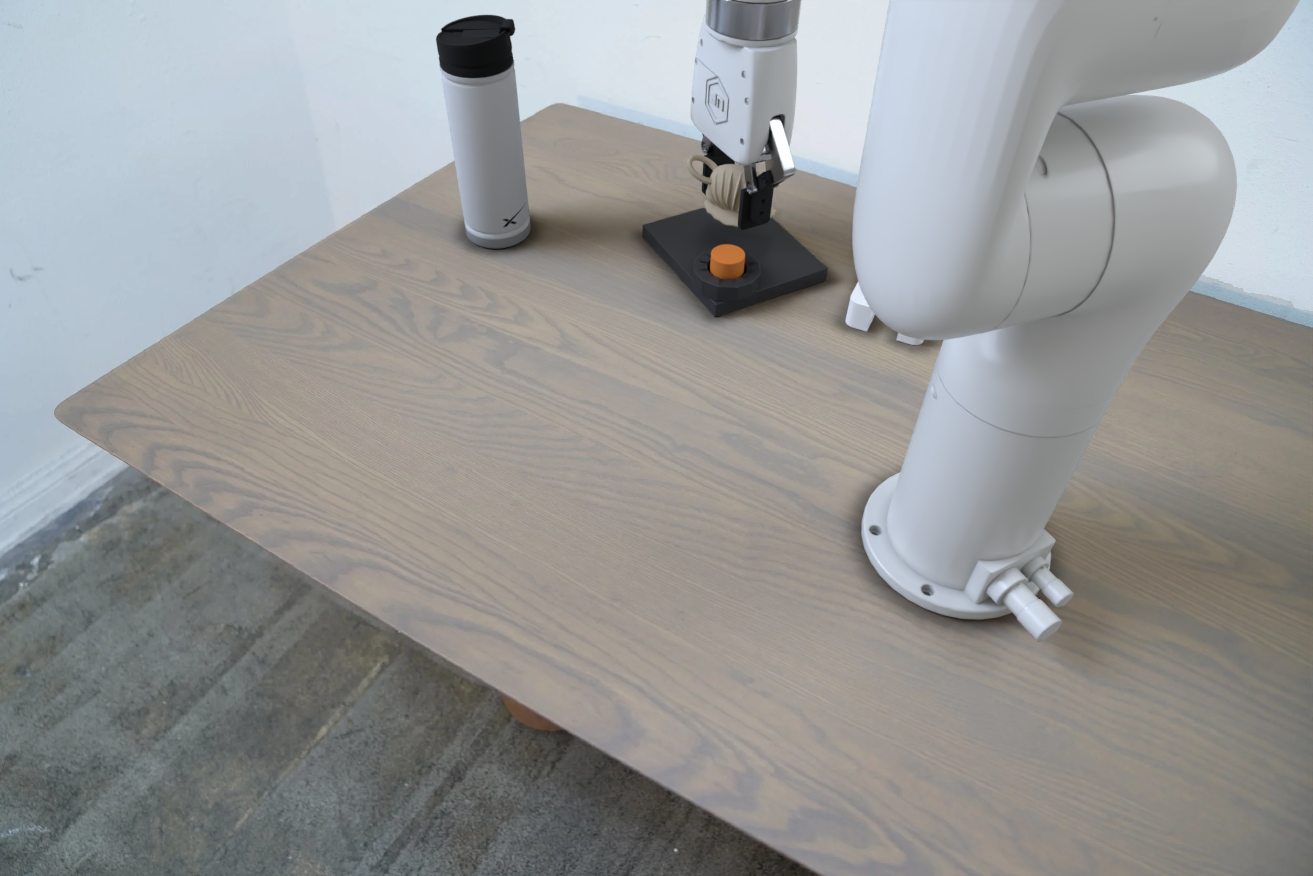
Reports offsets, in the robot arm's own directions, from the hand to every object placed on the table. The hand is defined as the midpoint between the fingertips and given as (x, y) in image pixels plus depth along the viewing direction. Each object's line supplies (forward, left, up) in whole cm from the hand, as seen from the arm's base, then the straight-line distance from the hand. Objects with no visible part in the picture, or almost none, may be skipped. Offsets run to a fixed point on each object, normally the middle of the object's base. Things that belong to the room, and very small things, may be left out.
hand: (734, 205), depth 85 cm
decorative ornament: (0, 0, -1) cm, 1 cm away
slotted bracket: (-14, -9, -4) cm, 18 cm away
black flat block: (-3, +2, -4) cm, 5 cm away
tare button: (-7, +5, -1) cm, 9 cm away
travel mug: (+12, +20, -4) cm, 23 cm away
